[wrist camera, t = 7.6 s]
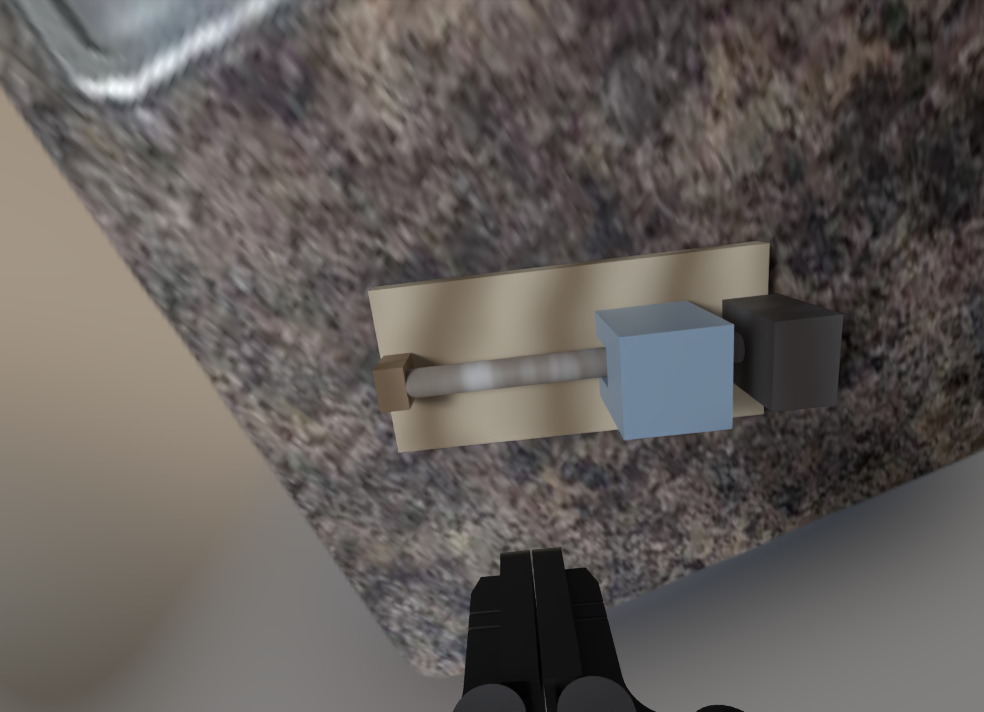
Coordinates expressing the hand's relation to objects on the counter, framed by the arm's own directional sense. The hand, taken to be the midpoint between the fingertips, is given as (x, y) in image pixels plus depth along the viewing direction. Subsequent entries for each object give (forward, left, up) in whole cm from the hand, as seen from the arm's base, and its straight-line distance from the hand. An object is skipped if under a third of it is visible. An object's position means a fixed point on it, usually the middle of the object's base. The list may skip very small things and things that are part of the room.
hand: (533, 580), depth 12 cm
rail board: (-3, 0, -19) cm, 19 cm away
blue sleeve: (-7, 0, -17) cm, 19 cm away
